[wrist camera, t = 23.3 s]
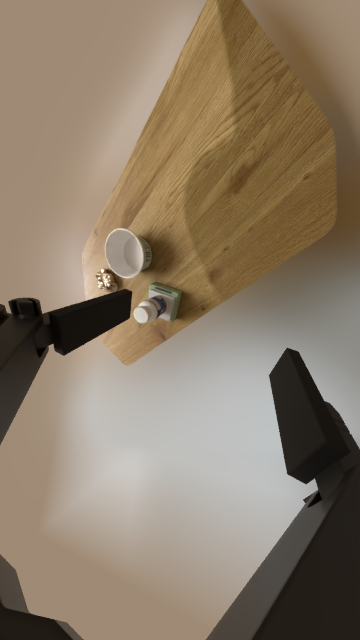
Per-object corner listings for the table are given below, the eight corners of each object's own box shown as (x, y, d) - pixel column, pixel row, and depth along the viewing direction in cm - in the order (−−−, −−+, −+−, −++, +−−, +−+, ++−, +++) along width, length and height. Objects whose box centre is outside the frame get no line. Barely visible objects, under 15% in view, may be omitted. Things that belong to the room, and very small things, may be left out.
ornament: (96, 277, 56) (88, 278, 53) (107, 264, 52) (98, 265, 49) (111, 296, 57) (103, 298, 54) (122, 285, 53) (114, 287, 50)
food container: (114, 244, 49) (97, 243, 43) (143, 221, 43) (127, 217, 38) (133, 281, 51) (119, 285, 46) (163, 264, 46) (151, 266, 40)
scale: (182, 291, 47) (177, 294, 43) (175, 318, 51) (171, 323, 47) (154, 282, 49) (148, 284, 45) (150, 308, 53) (144, 312, 49)
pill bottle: (159, 316, 48) (140, 329, 40) (148, 301, 48) (127, 312, 39) (172, 306, 45) (155, 319, 37) (160, 291, 45) (140, 300, 36)
